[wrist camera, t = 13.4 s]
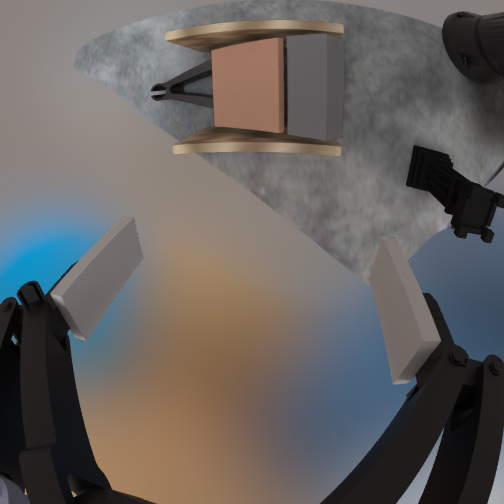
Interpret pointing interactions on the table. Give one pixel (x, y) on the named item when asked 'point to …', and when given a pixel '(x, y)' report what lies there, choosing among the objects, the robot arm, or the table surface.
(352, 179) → the table surface
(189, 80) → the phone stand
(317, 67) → the trapdoor
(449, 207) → the chess piece
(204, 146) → the frame
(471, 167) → the table surface
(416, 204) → the table surface
